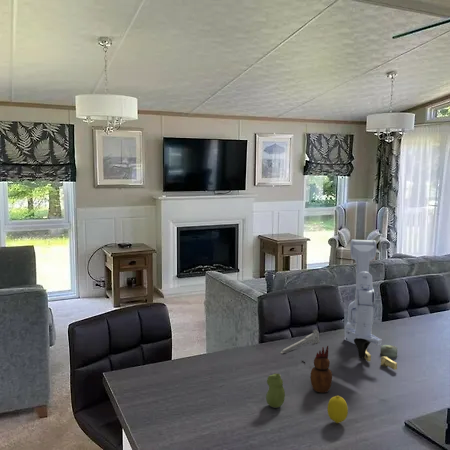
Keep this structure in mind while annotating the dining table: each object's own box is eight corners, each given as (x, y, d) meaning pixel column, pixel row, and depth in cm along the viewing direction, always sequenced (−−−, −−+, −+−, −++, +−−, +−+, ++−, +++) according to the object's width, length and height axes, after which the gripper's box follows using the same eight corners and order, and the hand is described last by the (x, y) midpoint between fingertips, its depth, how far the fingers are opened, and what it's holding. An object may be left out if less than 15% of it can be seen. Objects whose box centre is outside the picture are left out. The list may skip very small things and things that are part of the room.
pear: (274, 413, 130) (275, 379, 129) (262, 405, 134) (262, 373, 133) (288, 407, 134) (288, 374, 133) (275, 400, 138) (275, 368, 137)
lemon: (324, 418, 127) (325, 391, 127) (343, 417, 128) (344, 390, 127) (330, 429, 122) (331, 401, 121) (350, 428, 122) (351, 400, 122)
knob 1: (365, 363, 162) (365, 355, 161) (359, 356, 169) (359, 347, 169) (372, 363, 162) (372, 355, 161) (365, 356, 169) (365, 347, 169)
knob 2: (392, 372, 154) (392, 363, 154) (379, 364, 161) (379, 356, 161) (398, 371, 155) (398, 363, 155) (385, 363, 162) (385, 355, 162)
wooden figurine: (332, 388, 146) (333, 343, 144) (330, 396, 140) (332, 350, 139) (311, 385, 148) (312, 341, 147) (309, 392, 143) (310, 347, 141)
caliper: (317, 343, 187) (317, 328, 186) (319, 343, 186) (319, 329, 185) (279, 353, 175) (280, 338, 175) (281, 354, 174) (282, 338, 174)
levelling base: (348, 361, 167) (348, 349, 167) (380, 349, 179) (381, 338, 179) (380, 374, 156) (381, 362, 156) (412, 361, 168) (413, 349, 167)
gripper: (340, 318, 165) (339, 353, 167) (373, 330, 154) (371, 367, 155) (353, 315, 170) (351, 349, 171) (386, 326, 158) (384, 362, 159)
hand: (362, 357), depth 164 cm, fingers closed, pressing on knob 1
